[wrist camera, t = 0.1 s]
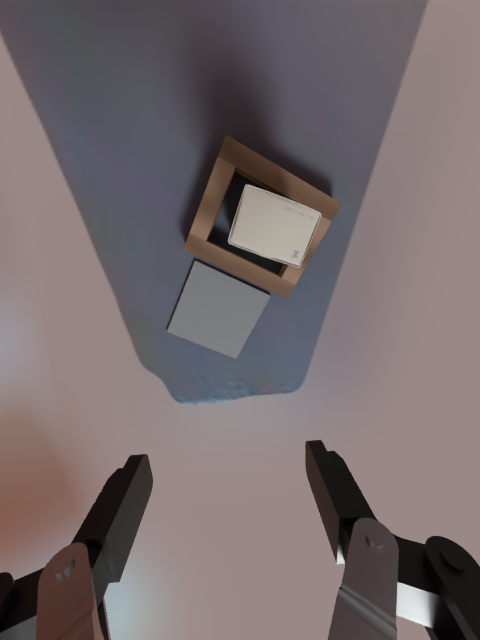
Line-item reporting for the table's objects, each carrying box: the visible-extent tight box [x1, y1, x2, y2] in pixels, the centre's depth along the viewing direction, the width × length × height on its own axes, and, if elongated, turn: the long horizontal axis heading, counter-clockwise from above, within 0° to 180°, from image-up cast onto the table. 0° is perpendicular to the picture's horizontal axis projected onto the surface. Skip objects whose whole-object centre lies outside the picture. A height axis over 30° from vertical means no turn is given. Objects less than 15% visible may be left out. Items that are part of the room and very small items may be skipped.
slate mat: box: [167, 260, 271, 359], centre depth 32 cm, size 11×11×1 cm
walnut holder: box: [183, 135, 342, 298], centre depth 27 cm, size 12×14×2 cm
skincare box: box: [228, 184, 321, 268], centre depth 22 cm, size 6×4×12 cm
